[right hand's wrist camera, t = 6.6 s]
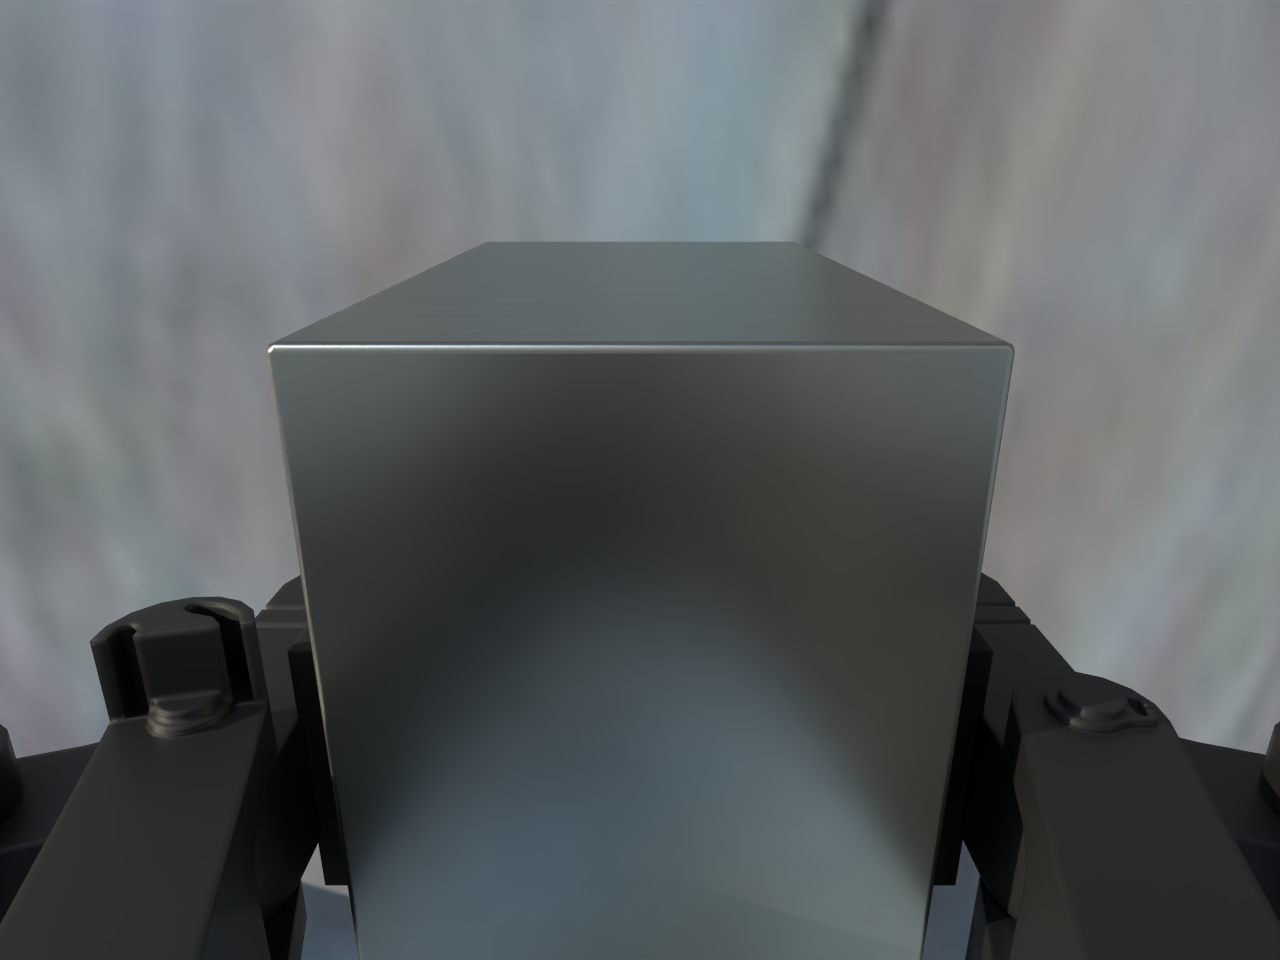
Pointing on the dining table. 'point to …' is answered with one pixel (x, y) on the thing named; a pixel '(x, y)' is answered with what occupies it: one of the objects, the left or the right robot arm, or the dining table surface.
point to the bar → (640, 597)
